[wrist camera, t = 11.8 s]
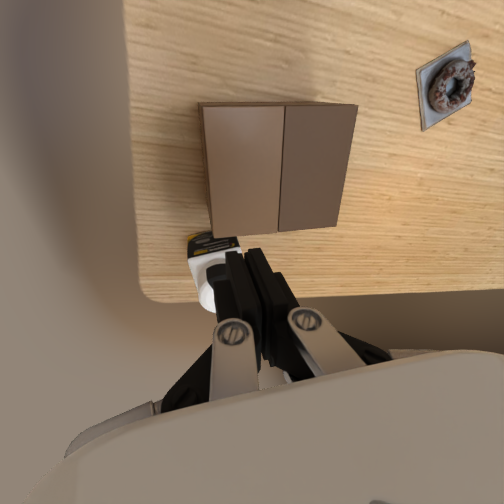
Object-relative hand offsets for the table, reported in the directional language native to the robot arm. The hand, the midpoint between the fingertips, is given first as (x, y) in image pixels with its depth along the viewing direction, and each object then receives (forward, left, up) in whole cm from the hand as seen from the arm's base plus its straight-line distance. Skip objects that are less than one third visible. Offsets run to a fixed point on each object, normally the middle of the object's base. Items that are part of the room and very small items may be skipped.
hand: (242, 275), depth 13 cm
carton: (+7, 0, -27) cm, 27 cm away
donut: (+33, +8, -27) cm, 43 cm away
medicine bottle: (0, -14, -27) cm, 30 cm away
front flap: (+3, 0, -16) cm, 17 cm away
